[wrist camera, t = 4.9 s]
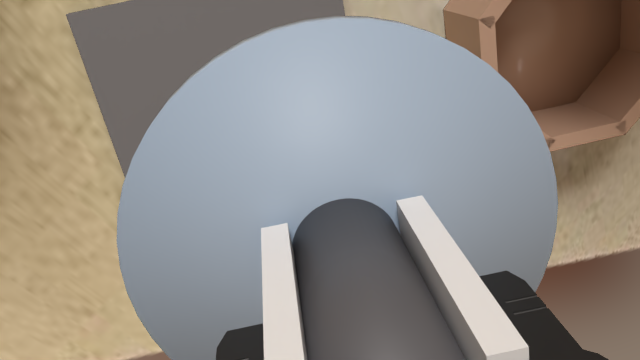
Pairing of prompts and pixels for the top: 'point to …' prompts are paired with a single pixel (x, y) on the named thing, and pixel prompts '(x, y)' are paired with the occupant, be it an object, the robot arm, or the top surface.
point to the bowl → (560, 60)
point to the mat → (167, 51)
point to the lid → (331, 187)
